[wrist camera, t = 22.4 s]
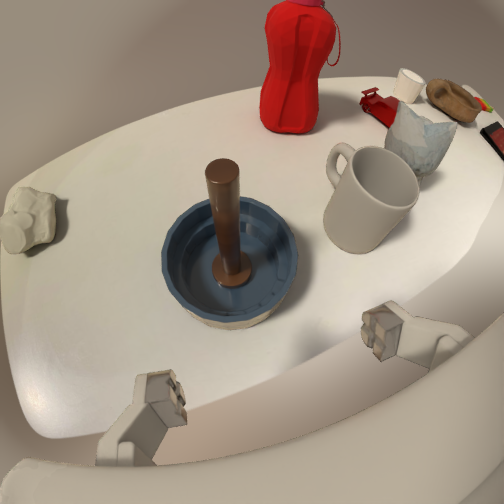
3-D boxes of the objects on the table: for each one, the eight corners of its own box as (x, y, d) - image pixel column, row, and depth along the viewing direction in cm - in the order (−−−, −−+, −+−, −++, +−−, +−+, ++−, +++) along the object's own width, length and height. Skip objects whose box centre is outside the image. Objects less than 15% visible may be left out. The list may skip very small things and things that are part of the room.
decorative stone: (59, 240, 31) (-3, 232, 22) (45, 264, 35) (-7, 259, 26) (62, 178, 34) (9, 166, 25) (46, 208, 38) (0, 199, 30)
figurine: (422, 173, 40) (463, 114, 26) (414, 208, 36) (466, 145, 23) (375, 145, 41) (407, 78, 28) (362, 176, 38) (400, 101, 25)
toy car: (355, 106, 46) (362, 88, 41) (369, 101, 47) (376, 83, 43) (409, 150, 42) (421, 133, 37) (420, 142, 43) (431, 125, 39)
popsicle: (471, 99, 58) (473, 95, 57) (488, 104, 60) (490, 101, 59) (481, 110, 56) (483, 106, 54) (496, 114, 58) (498, 111, 56)
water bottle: (326, 139, 41) (366, 2, 18) (260, 135, 41) (271, -15, 18) (316, 106, 45) (343, -12, 22) (258, 103, 44) (266, -23, 21)
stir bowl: (297, 321, 30) (310, 310, 24) (179, 336, 28) (164, 328, 23) (276, 217, 35) (282, 190, 29) (173, 230, 34) (161, 204, 28)
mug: (391, 237, 34) (433, 193, 24) (347, 266, 32) (387, 223, 22) (341, 173, 38) (365, 119, 28) (295, 193, 36) (311, 134, 26)
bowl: (449, 127, 45) (458, 91, 37) (412, 102, 54) (418, 69, 46) (482, 131, 47) (491, 101, 39) (449, 107, 56) (456, 79, 48)
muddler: (254, 286, 30) (266, 196, 15) (214, 291, 30) (185, 206, 14) (248, 250, 32) (254, 141, 16) (211, 255, 32) (184, 149, 16)
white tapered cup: (420, 107, 49) (430, 86, 43) (399, 103, 48) (410, 81, 42) (406, 91, 52) (415, 71, 45) (386, 87, 51) (394, 65, 45)
